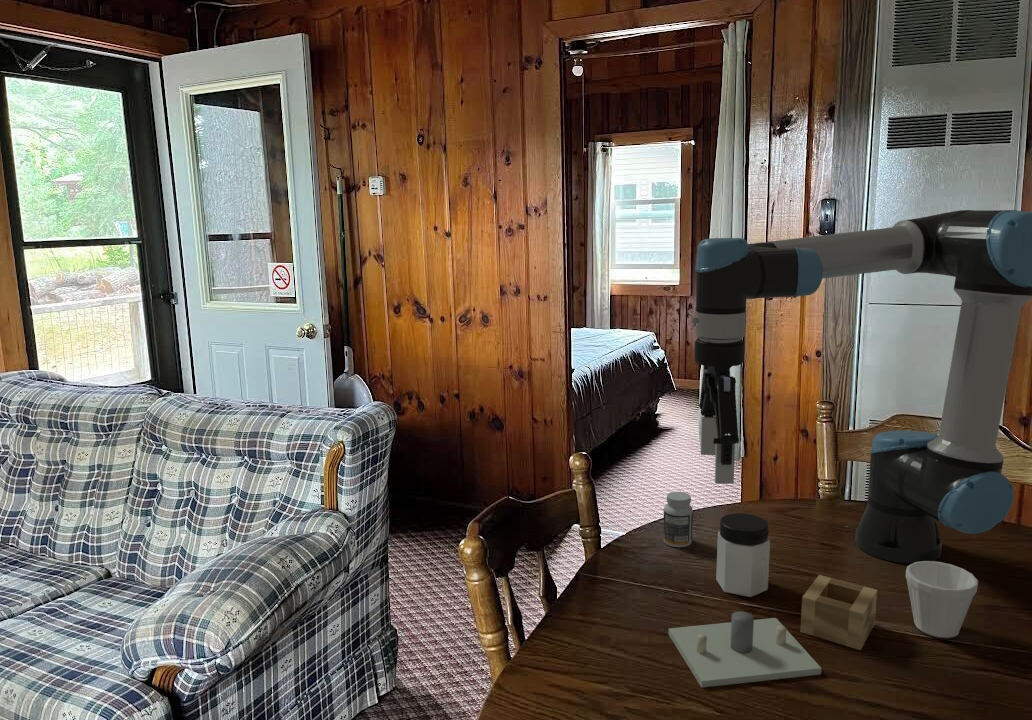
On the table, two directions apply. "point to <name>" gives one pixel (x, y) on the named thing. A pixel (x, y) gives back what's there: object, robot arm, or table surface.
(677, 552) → the table surface
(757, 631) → the post fixture
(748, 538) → the jar
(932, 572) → the cup
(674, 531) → the pill bottle
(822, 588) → the open wooden square frame
